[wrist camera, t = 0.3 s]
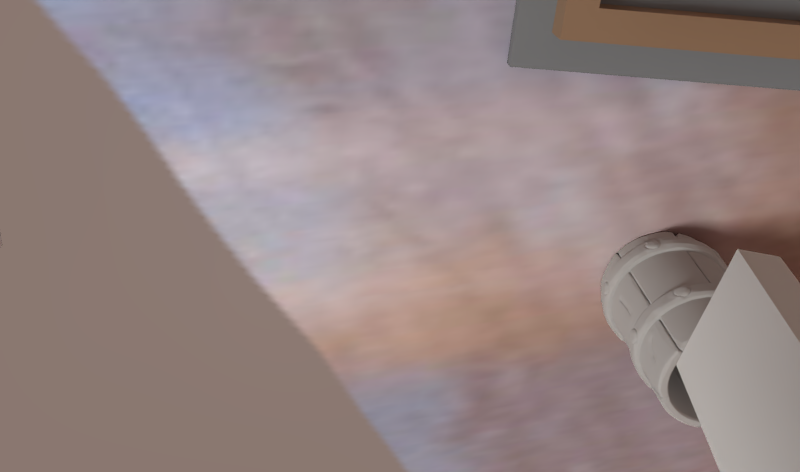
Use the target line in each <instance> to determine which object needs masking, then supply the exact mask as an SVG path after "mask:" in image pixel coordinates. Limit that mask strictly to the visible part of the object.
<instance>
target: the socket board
mask: <svg viewBox="0 0 800 472" xmlns="http://www.w3.org/2000/svg"><path fill="white" fill-rule="evenodd" d="M507 63H508V65H509V66H510V67H521V68H533V69H545V70H557V71H569V72H581V73H593V74H605V75H618V76H630V77H642V78H654V79H666V80H678V81H690V82H703V83H715V84H727V85H739V86H751V87H763V88H775V89H788V90H800V0H516V7H515V13H514V20H513V27H512V33H511V40H510V47H509V54H508V60H507Z"/></svg>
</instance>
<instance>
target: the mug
mask: <svg viewBox="0 0 800 472" xmlns="http://www.w3.org/2000/svg"><path fill="white" fill-rule="evenodd" d="M618 253H619V255H618V254H615V255H614V256H613V258H612V260H611V261H610V263H609V265H608V266H607V269H606V271H605V273H604V274H603V277H602V281H601V302H602V306H603V313H604V315H605V318H606V320H607V322H608V324H609V326H610V327H611V329H612V330H613V331H614V332H615V334H616V335H617V336H618V337H619V339H620V340H622V341H625V342H626V344H627V346H628V347H629V349H630V355H631V359H632V362H633V364H634V366H635V368H636V370H637V372H638V374H639V375H640V377H641V378H642V380H643V381H644V382H645V383H646V385H647V386H648V387H650V388H651V389H653V390H654V392H655V394H656V396H657V397H658V399H659V401H660V403H661V404H662V406H663V407H664V409H665V410H666V411H667V412H668V413H669V414H670V415H671V416H672V417H674V418H675V419H677V420H678V421H680V422H682V423H684V424H687V425H690V426H694V427H701V424H700V422H699V419H698V417H697V414H696V412H695V410H694V407H693V405H692V402H691V400H690V397H689V395H688V393H687V390H686V388H685V385H684V383H683V380H682V378H681V375H680V373H679V371H678V368H677V366H676V364H677V362H678V360H679V358H680V356H681V354H682V352H683V351H684V349H685V347H686V345H687V343H688V341H689V339H690V337H691V335H692V334H693V332H694V330H695V328H696V326H697V324H698V322H699V320H700V319H701V317H702V315H703V313H704V311H705V309H706V307H707V305H708V303H709V302H710V300H711V298H712V296H713V294H714V292H715V290H716V288H717V287H718V285H719V283H720V281H721V279H722V277H723V275H724V273H725V271H726V270H727V268H728V267H727V265H726V264H725V262H724V261H723V260H722V258H721V257H720V255H719V254H718V252H717V251H715V250H714V249H712V248H710V247H709V246H707V245H706V244H704V243H702V242H700V241H697V240H695V239H693V238H691V237H689V236H687V235H683V234H677V235H676V236H675V235H674V234H673V233H672V232H658V233H654V234H649V235H646V236H643V237H639V238H637V239H635V240H633V241H632V242H630V243H628V244H627V245H625V246H624V247H623V248H621V249H620V250H619V251H618Z"/></svg>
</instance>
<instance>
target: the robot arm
mask: <svg viewBox="0 0 800 472" xmlns="http://www.w3.org/2000/svg"><path fill="white" fill-rule="evenodd" d="M1 246H2V240H1V235H0V247H1ZM676 366H677V368H678V371H679V373H680V375H681V378H682V380H683V383H684V385H685V388H686V390H687V393H688V395H689V397H690V400H691V402H692V405H693V407H694V410H695V412H696V414H697V417H698V419H699V422H700V424H701V427H702V429H703V432H704V434H705V436H706V439H707V441H708V444H709V446H710V449H711V451H712V454H713V456H714V458H715V461H716V463H717V466H718V468H719V471H720V472H800V283H799V281H798V280H797V279H796V277H795V276H794V275H793V273H792V272H791V271H790V269H789V268H788V267H787V265H786V264H785V262H784V261H783V260H782V258H781V257H780V256H774V255H769V254H763V253H758V252H752V251H747V250H741V249H737V251H736V253H735V254H734V256H733V258H732V260H731V262H730V264H729V266H728V268H727V270H726V271H725V273H724V275H723V277H722V279H721V281H720V283H719V285H718V287H717V288H716V290H715V292H714V294H713V296H712V298H711V300H710V302H709V303H708V305H707V307H706V309H705V311H704V313H703V315H702V317H701V319H700V320H699V322H698V324H697V326H696V328H695V330H694V332H693V334H692V335H691V337H690V339H689V341H688V343H687V345H686V347H685V349H684V351H683V352H682V354H681V356H680V358H679V360H678V362H677V364H676Z"/></svg>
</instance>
